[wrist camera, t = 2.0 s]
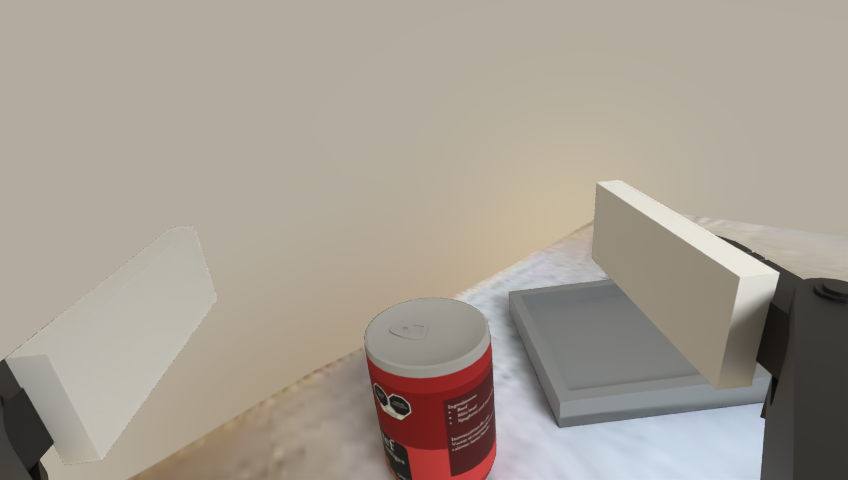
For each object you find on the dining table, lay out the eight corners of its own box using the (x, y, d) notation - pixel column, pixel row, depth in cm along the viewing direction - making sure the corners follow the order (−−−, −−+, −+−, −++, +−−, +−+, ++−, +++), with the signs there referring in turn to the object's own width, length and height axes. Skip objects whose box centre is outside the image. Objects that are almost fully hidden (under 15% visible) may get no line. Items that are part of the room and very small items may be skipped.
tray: (656, 293, 48) (658, 273, 47) (770, 401, 34) (777, 375, 33) (509, 311, 48) (508, 291, 47) (559, 427, 33) (560, 402, 32)
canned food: (391, 417, 36) (370, 300, 32) (490, 410, 36) (483, 291, 31) (381, 507, 29) (353, 374, 25) (504, 501, 29) (498, 363, 24)
